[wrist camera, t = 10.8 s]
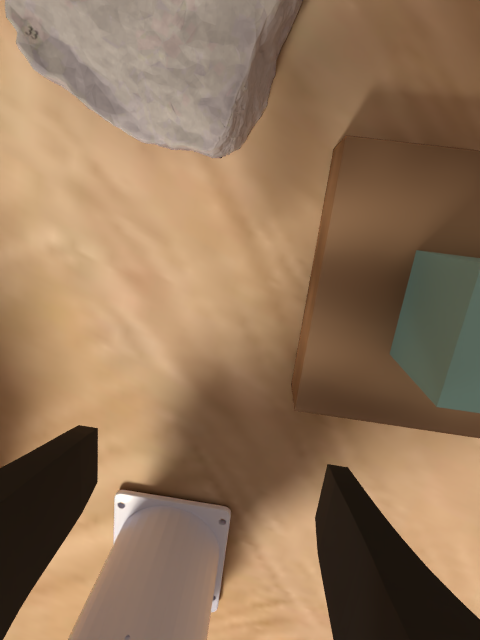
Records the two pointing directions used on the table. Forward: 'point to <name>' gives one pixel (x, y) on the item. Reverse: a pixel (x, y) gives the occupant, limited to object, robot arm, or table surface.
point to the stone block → (161, 63)
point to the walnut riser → (381, 277)
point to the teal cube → (442, 329)
